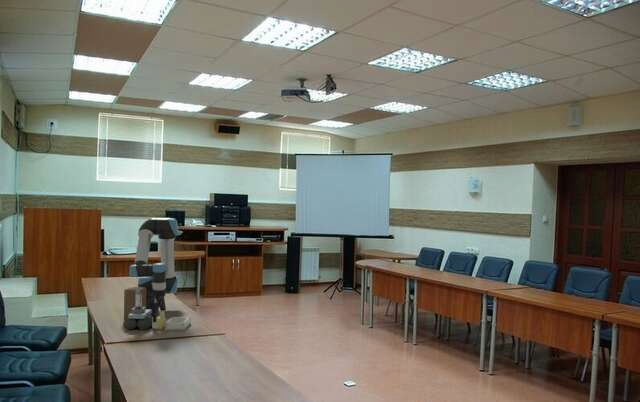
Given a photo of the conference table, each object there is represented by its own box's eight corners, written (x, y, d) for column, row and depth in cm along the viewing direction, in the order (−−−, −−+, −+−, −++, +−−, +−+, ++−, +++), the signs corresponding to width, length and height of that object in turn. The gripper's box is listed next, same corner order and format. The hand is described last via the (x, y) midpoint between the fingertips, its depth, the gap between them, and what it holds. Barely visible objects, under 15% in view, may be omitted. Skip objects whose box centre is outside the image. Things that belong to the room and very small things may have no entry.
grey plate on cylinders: (131, 323, 292) (131, 305, 292) (156, 324, 292) (156, 305, 292) (122, 330, 278) (123, 310, 278) (148, 330, 278) (149, 310, 278)
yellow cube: (154, 326, 288) (154, 316, 287) (164, 326, 288) (164, 316, 288) (152, 328, 283) (152, 318, 282) (162, 328, 283) (162, 318, 283)
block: (137, 322, 296) (138, 290, 296) (123, 321, 298) (123, 289, 298) (146, 318, 305) (146, 287, 305) (132, 317, 307) (132, 286, 307)
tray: (171, 323, 295) (171, 316, 295) (190, 323, 295) (190, 317, 295) (164, 329, 280) (164, 323, 280) (184, 330, 280) (184, 323, 280)
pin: (136, 311, 287) (136, 289, 286) (142, 311, 287) (142, 290, 287) (134, 312, 283) (134, 291, 283) (140, 312, 283) (140, 291, 283)
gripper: (159, 285, 297) (158, 319, 298) (145, 293, 272) (145, 330, 273) (171, 285, 298) (170, 319, 298) (159, 293, 273) (158, 330, 273)
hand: (158, 324), depth 285 cm, fingers open, 13 cm apart
